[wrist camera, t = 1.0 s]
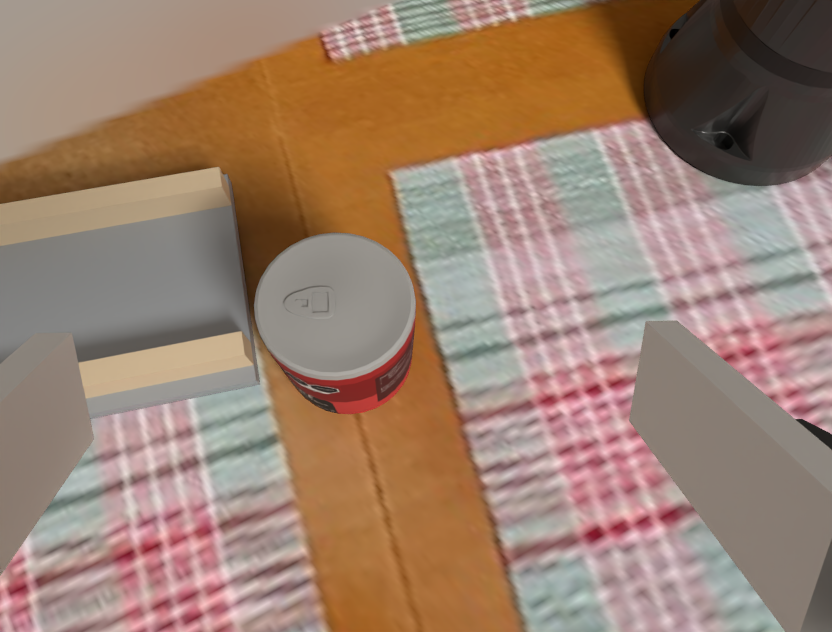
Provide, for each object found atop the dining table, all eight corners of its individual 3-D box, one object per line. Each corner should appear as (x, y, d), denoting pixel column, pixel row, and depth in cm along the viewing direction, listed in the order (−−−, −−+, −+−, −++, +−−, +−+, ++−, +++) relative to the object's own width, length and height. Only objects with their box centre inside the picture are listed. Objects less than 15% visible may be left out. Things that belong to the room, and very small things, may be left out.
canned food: (276, 323, 42) (235, 256, 31) (390, 288, 43) (388, 211, 32) (307, 434, 40) (275, 400, 29) (427, 394, 41) (437, 348, 30)
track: (231, 182, 45) (217, 153, 42) (260, 384, 41) (246, 370, 37) (-31, 228, 43) (-69, 201, 40) (-32, 443, 39) (-75, 435, 35)
